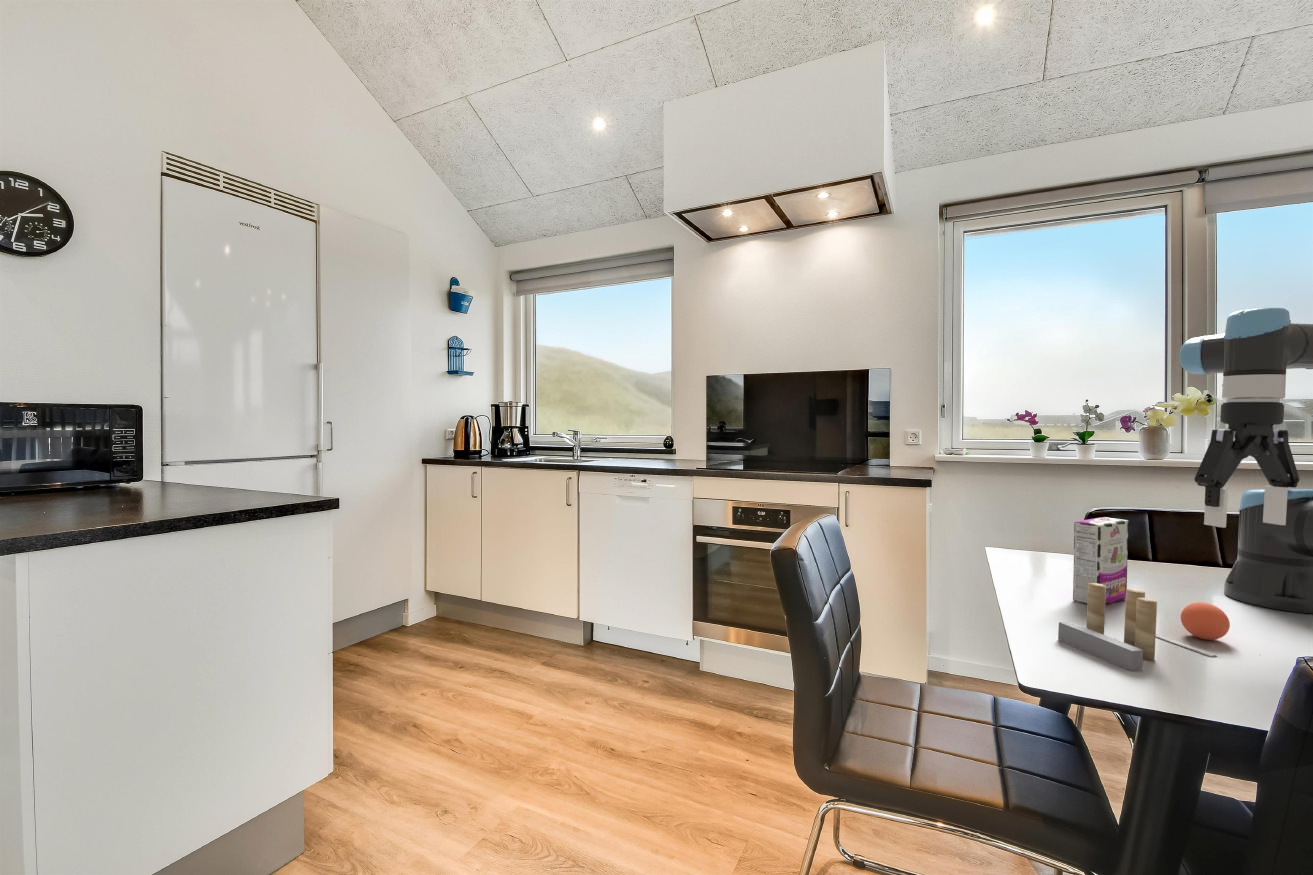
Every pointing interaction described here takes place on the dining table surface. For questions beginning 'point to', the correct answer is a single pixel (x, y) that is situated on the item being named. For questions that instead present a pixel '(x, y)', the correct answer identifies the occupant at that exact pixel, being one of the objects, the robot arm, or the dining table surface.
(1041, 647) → the dining table surface
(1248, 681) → the dining table surface
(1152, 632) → the back pin left
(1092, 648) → the rail
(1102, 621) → the back pin right
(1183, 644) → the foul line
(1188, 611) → the ball
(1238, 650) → the dining table surface
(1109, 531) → the candy bar box
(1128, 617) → the front pin
